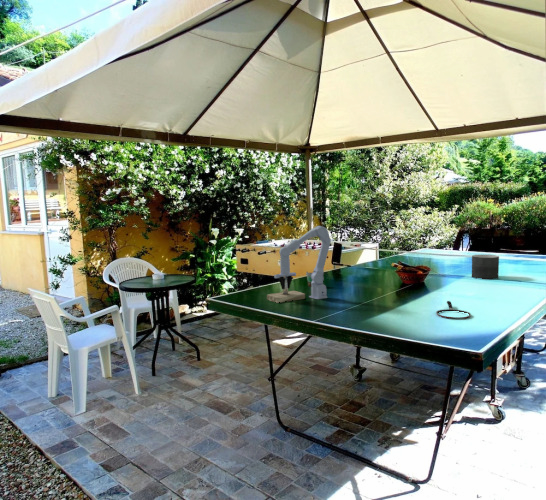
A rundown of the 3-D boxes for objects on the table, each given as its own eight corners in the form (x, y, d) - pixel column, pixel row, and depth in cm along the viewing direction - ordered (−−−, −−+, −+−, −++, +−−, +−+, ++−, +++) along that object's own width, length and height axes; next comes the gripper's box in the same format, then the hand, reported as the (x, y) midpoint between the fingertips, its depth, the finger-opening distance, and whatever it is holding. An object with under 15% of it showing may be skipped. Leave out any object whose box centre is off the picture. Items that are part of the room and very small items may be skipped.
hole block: (304, 298, 271) (304, 293, 271) (276, 303, 261) (276, 298, 261) (294, 295, 282) (294, 290, 281) (267, 299, 272) (266, 294, 271)
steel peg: (288, 294, 271) (288, 278, 269) (284, 294, 269) (284, 278, 268) (286, 293, 273) (286, 277, 272) (282, 293, 272) (281, 277, 271)
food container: (303, 286, 308) (303, 272, 307) (306, 285, 314) (306, 271, 313) (319, 287, 303) (319, 273, 302) (323, 286, 308) (322, 272, 307)
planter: (466, 276, 329) (466, 255, 328) (485, 274, 335) (486, 254, 333) (484, 280, 312) (484, 258, 311) (504, 278, 318) (504, 256, 316)
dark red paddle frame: (431, 306, 245) (431, 300, 244) (463, 306, 241) (463, 300, 240) (437, 319, 218) (438, 312, 217) (473, 320, 214) (474, 314, 213)
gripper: (291, 264, 276) (292, 286, 278) (271, 267, 269) (272, 289, 271) (297, 266, 270) (298, 287, 272) (277, 268, 263) (278, 290, 264)
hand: (285, 288), depth 271 cm, fingers closed on steel peg, 3 cm apart
